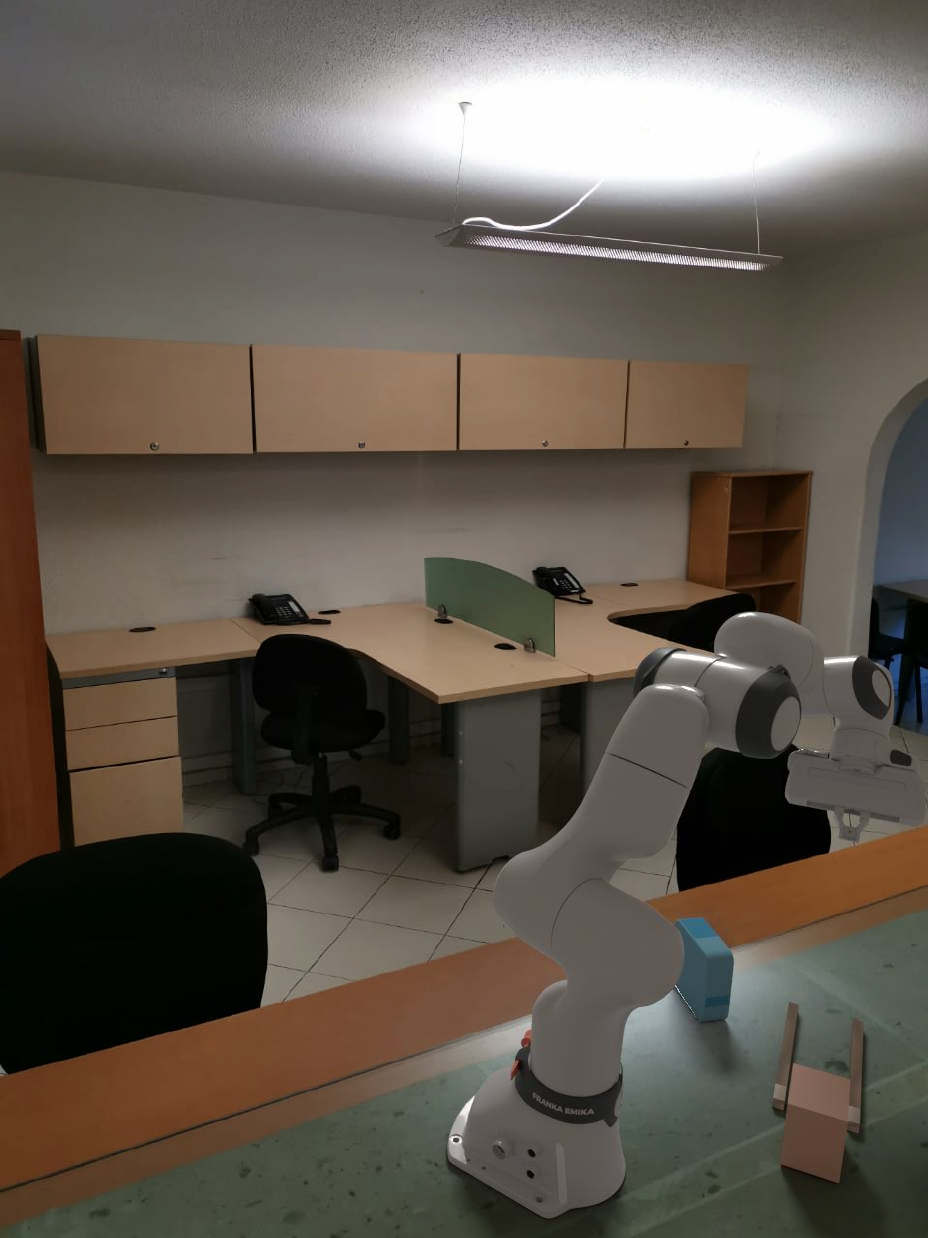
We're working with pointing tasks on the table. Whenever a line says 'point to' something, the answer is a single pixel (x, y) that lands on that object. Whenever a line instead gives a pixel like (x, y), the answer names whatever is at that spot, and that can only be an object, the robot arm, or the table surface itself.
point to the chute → (854, 1073)
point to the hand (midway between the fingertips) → (848, 839)
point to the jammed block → (816, 1122)
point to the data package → (705, 970)
